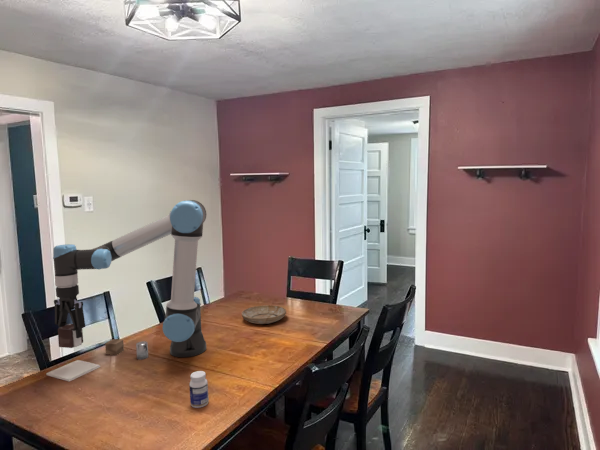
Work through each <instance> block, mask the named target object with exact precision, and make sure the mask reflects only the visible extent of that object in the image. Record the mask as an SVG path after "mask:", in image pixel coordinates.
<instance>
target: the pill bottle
mask: <svg viewBox="0 0 600 450" xmlns="http://www.w3.org/2000/svg"><path fill="white" fill-rule="evenodd" d="M206 376H207V375H206V372H205V371H203V370H197V371H194V372H192V373H191V374H190V382H189V384H188V385H189V400H190V401H189V403H190V406H191V407H192V408H194V409H195V408H196V409H200V408H204V407H205V406H207V405H208V403H209V401H210V400H209V398H210V397H209V386H208V385H209V384H208V379H207V378H206Z"/></svg>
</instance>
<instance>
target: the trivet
mask: <svg viewBox="0 0 600 450" xmlns="http://www.w3.org/2000/svg"><path fill="white" fill-rule="evenodd" d="M99 368H101V364H97V363H93V362H89V361H85V360H82V359H81V360H80V359H76V360H75V361H72V362H70V363H67V364H65V365H63V366H60V367H58V368H56V369H52V370H51V371H48V372H46V376H48V377H52V378H55V379H58V380H59V379H60V380H63V381H66V382H71V381H73V380H76V379H77V378H80V377H82V376H84V375H87V374H89V373H90V372H93V371H95V370H97V369H99Z"/></svg>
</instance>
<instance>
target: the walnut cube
mask: <svg viewBox="0 0 600 450" xmlns="http://www.w3.org/2000/svg"><path fill="white" fill-rule="evenodd" d="M104 345H105V347H104V348H105V355H106V354H110V355H109V356H118V355H119V353H120V354H121V353H123V352H124V351H125V348H124V347H125V346H124V345H125V344H124V339H120V338H119V339H118V338H117V339H116V338H113V339H110V340H109V341H107V342H106V343H105V344H104ZM122 351H123V352H122ZM117 354H118V355H117Z"/></svg>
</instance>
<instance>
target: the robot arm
mask: <svg viewBox="0 0 600 450" xmlns="http://www.w3.org/2000/svg"><path fill="white" fill-rule="evenodd" d="M206 219H207V210H206V207H205V206H204V204H202V203H201V202H200V201H198V200H194V199H187V200H182V201H179V202H177V203H176V204H175V205H174V206H173V207H172V209H171V211H169V213H168V214H167V215H165V216H164V217H163V216H162V217H160V218H159V219H156V220H155V221H152V222H150V223H147V224H145V225H143V226H142V227H139V228H136V229H134V230H132V231H130V232H127V233H126V234H124V235H121V236H119V237H116V238H115V239H113V240H110V241H109V242H106V243H104V244H102V245H99V246H97V247H94V248H92V249H77V245H76V244H69V243H67V244H66V243H65V244H59V245H58V244H57V245H56V246H54V247H53V257H52V259H53V264H54V265H53V266H54V267H53V268H54V285H55V287H56V288H55V296H56V297H57V299H54V300H53V304H54V325H57V326H58V328H61V327H63V326H65V325H68V322H67V321H68V320H67V319H68V316H69V317H70V319H71V324H73V326H74V329H73V341H74V347H73V348H77V347H79V346H82V344H83V343H82V341H81V337H82V334H81V329H82V330H83V329H84V328H86V321H85V315H84V314H85V313H84V302H83V301H78V297H77V296H78V295H79V294H80V287H79V278H78V277H79V276H78V271H82V270H103V269H108V268H109V267H110V266H111V264H112V262H113V261H115V260H117V259H120V258H122V257H124V256H125V255H128V254H131V253H132V252H134V251H136V250H139V249H141V248H144V247H146V246H148V245H150V244H153V243H154V242H157V241H159V240H161V239H163V238H165V237H168V236H172V238H174V249H173V260H172V261H173V265H172V280H171V293H170V294H171V295H170V300H169V301H168V302H167V303H166V305H165V306H166V308H165V319H164V320H163V323H162V332H163V335H164V336H165V337H166V338H167V339H168V340H170V341H171V342H170V345H169V354H170V355H172V357H175V358H191V357H195V356H198V355H200V354H203V353H204V352H205V351H206V350H207V341H206V340H205V337H204V334H203V332H202V316H201V315H202V313H201V312H202V311H201V305H202V304H201V299H200V298H199V297H197V296H195V286H196V274H197V273H196V272H197V260H198V259H197V258H198V257H197V256H198V245H199V241H200V240H201V238H203V232H204V231H203V230H204V223H205V221H206Z"/></svg>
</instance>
